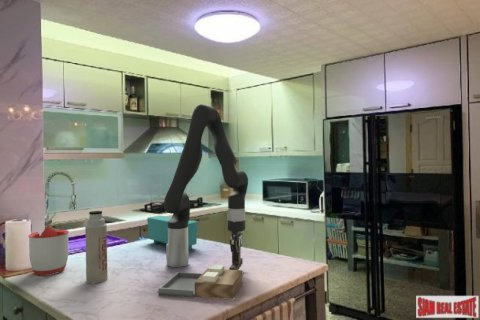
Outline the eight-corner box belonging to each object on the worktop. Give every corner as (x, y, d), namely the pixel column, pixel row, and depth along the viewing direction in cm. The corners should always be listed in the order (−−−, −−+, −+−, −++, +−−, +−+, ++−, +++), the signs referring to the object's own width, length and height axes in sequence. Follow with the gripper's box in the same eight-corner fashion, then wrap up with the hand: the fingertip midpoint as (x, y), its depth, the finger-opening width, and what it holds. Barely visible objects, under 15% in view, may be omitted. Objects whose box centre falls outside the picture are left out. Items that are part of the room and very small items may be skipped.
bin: (158, 295, 124) (158, 288, 124) (177, 277, 142) (177, 271, 142) (192, 297, 122) (192, 290, 122) (208, 279, 139) (208, 273, 139)
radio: (199, 249, 187) (199, 221, 187) (184, 253, 179) (184, 224, 179) (161, 239, 209) (161, 214, 209) (147, 243, 202) (146, 217, 201)
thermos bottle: (111, 278, 142) (110, 210, 142) (94, 284, 136) (93, 213, 135) (99, 275, 147) (98, 209, 146) (82, 281, 140) (80, 211, 140)
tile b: (209, 274, 131) (209, 268, 131) (213, 270, 136) (213, 265, 136) (221, 274, 130) (221, 269, 130) (224, 270, 135) (224, 265, 135)
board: (194, 296, 123) (194, 282, 123) (208, 280, 138) (207, 268, 138) (232, 299, 120) (232, 284, 120) (242, 283, 135) (242, 270, 135)
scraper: (228, 273, 138) (228, 250, 138) (236, 263, 152) (236, 241, 152) (235, 274, 138) (235, 250, 138) (243, 263, 151) (243, 242, 151)
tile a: (203, 281, 124) (202, 275, 124) (206, 277, 128) (206, 271, 128) (215, 282, 123) (215, 276, 123) (218, 277, 127) (218, 272, 127)
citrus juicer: (61, 263, 165) (60, 221, 164) (74, 271, 152) (74, 226, 152) (23, 271, 154) (22, 226, 153) (34, 280, 141) (33, 231, 141)
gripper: (231, 215, 152) (231, 254, 153) (223, 221, 139) (223, 264, 139) (248, 216, 151) (248, 255, 151) (241, 222, 137) (241, 265, 137)
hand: (236, 259), depth 145 cm, fingers closed on scraper, 3 cm apart
